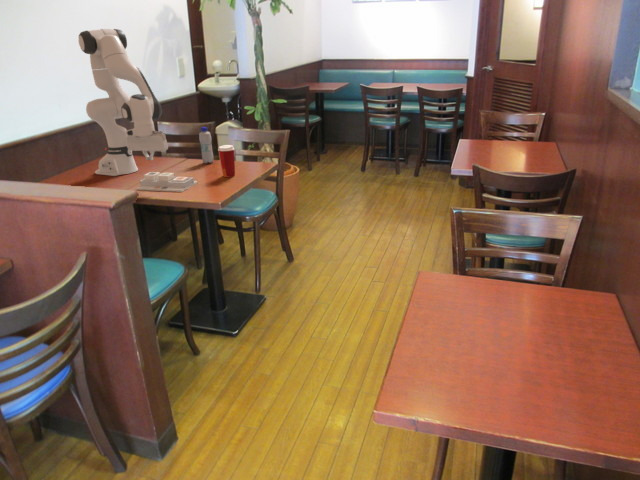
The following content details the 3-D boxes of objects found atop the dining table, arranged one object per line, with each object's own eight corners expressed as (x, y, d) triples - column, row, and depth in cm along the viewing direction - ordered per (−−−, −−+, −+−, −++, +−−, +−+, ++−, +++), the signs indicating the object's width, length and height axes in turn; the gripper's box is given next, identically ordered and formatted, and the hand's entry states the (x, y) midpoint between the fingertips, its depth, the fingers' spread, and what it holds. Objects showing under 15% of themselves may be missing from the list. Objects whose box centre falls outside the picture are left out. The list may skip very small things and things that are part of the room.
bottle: (211, 164, 283) (207, 128, 275) (200, 164, 284) (195, 128, 276) (216, 161, 289) (212, 125, 281) (205, 161, 290) (200, 125, 283)
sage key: (158, 181, 242) (157, 175, 241) (164, 178, 247) (163, 172, 246) (168, 182, 241) (167, 175, 240) (175, 178, 246) (174, 172, 245)
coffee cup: (239, 173, 262) (236, 144, 256) (233, 178, 254) (230, 148, 248) (225, 173, 264) (221, 144, 258) (218, 177, 256) (214, 148, 251)
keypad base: (137, 189, 242) (135, 182, 241) (154, 181, 255) (153, 174, 254) (182, 192, 236) (181, 184, 234) (197, 182, 249) (196, 175, 247)
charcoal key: (145, 181, 244) (143, 174, 243) (151, 177, 249) (150, 171, 248) (155, 181, 243) (153, 175, 242) (161, 178, 248) (160, 172, 247)
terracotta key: (173, 185, 241) (172, 179, 240) (179, 182, 246) (178, 176, 245) (183, 186, 240) (182, 179, 239) (189, 183, 245) (188, 176, 243)
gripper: (168, 129, 237) (172, 158, 242) (130, 129, 243) (135, 157, 248) (160, 132, 232) (165, 162, 237) (122, 131, 237) (127, 161, 242)
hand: (149, 159), depth 242 cm, fingers closed
